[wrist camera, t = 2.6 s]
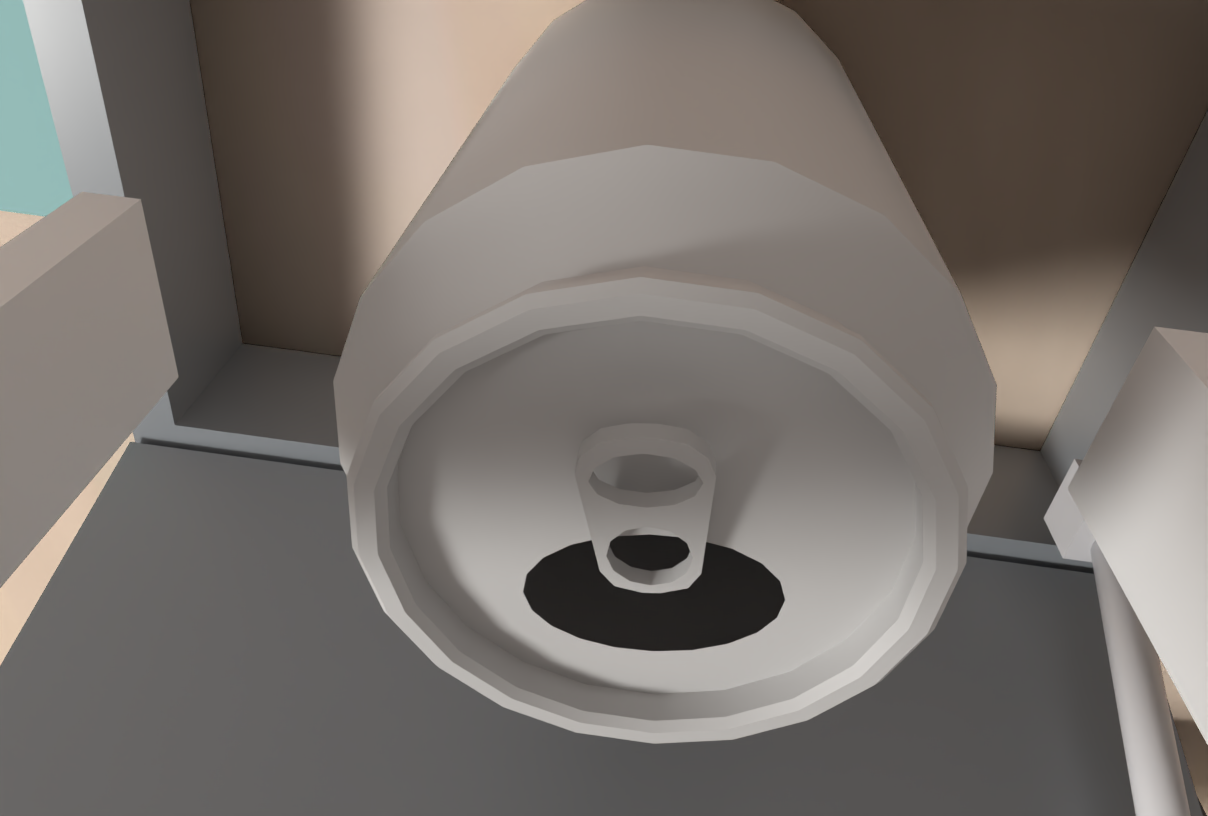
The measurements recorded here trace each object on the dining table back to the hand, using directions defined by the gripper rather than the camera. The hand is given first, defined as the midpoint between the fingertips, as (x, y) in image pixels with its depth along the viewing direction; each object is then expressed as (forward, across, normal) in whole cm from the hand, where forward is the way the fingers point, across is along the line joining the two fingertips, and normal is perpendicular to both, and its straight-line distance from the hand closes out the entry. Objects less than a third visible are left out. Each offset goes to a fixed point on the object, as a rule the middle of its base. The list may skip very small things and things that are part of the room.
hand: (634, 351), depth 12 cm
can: (+8, 0, 0) cm, 8 cm away
